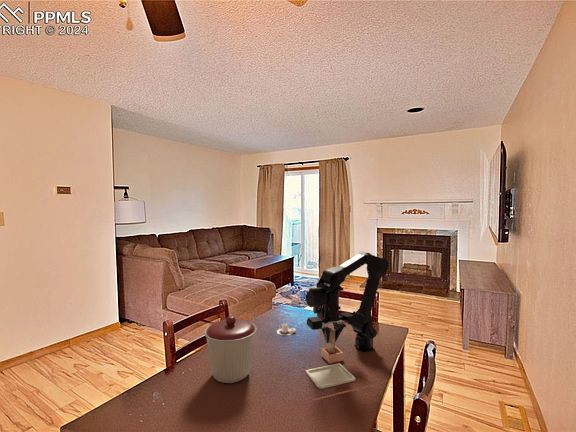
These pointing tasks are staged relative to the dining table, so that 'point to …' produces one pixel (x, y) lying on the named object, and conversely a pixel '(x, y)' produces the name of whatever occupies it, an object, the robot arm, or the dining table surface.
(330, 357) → the orange open box
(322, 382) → the tray
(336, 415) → the dining table surface
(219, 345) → the canister
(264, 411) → the dining table surface
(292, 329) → the teacup and saucer
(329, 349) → the dowel
